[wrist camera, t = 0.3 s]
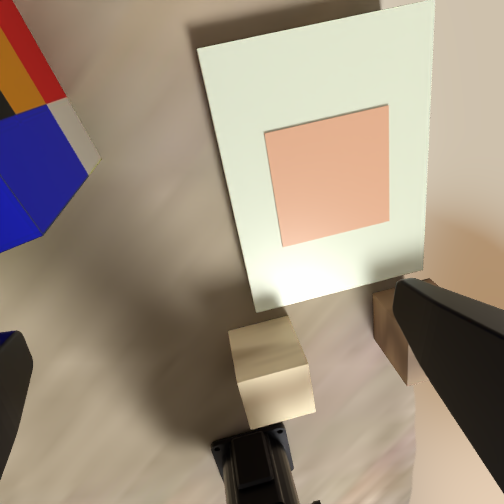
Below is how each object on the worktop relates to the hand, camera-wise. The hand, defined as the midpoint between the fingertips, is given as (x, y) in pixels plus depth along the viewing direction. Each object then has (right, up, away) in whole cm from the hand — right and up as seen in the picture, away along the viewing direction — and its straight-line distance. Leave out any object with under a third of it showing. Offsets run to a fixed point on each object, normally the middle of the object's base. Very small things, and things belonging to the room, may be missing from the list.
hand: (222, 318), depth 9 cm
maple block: (+2, -5, +19) cm, 20 cm away
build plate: (+5, +6, +14) cm, 16 cm away
